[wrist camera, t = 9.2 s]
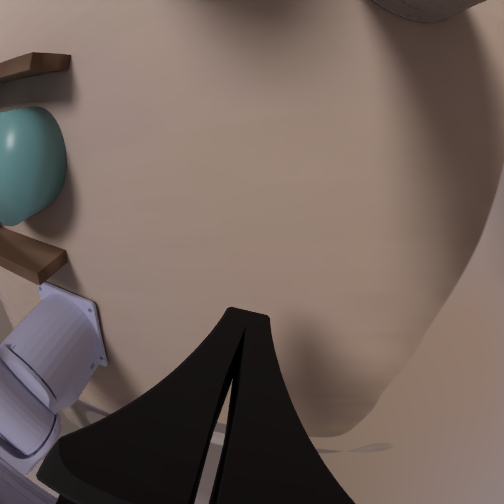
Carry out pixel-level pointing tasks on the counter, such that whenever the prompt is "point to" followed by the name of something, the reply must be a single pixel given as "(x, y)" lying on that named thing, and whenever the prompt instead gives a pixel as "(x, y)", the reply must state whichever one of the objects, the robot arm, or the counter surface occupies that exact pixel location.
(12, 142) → the teal flat rounded lump
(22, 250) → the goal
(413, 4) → the thermos bottle
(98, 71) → the counter surface
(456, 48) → the counter surface
